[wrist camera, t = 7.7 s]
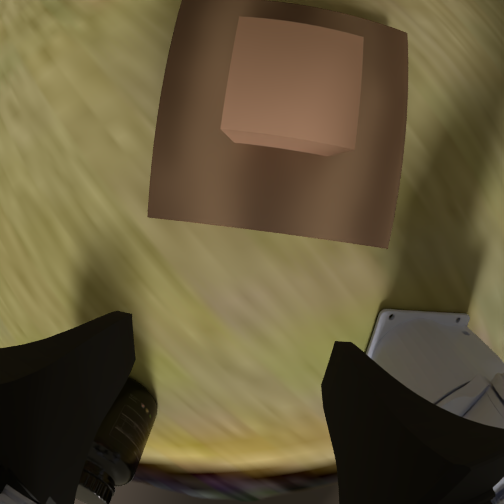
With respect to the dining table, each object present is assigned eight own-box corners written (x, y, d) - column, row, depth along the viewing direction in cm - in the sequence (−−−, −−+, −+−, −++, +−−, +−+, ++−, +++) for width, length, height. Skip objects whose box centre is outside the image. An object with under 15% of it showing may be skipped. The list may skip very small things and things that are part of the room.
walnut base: (390, 48, 15) (407, 33, 12) (371, 237, 19) (387, 248, 16) (192, 19, 15) (182, -1, 12) (164, 210, 19) (147, 217, 16)
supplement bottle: (119, 422, 25) (77, 506, 13) (84, 373, 23) (22, 456, 12) (172, 419, 24) (137, 520, 13) (136, 365, 23) (75, 470, 11)
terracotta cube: (336, 72, 14) (363, 37, 9) (327, 156, 15) (354, 149, 10) (246, 58, 14) (239, 16, 9) (234, 142, 15) (220, 129, 10)
